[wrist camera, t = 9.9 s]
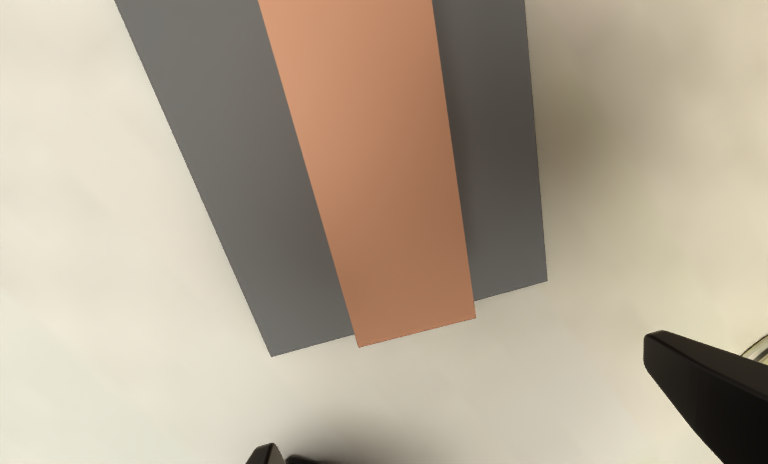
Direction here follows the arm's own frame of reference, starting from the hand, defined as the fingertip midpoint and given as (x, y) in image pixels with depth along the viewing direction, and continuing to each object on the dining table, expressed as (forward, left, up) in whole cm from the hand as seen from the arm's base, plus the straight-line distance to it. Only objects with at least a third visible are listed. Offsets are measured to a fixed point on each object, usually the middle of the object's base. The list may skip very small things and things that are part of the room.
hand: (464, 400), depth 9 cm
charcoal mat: (+2, +3, -12) cm, 12 cm away
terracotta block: (-2, -2, -9) cm, 9 cm away
